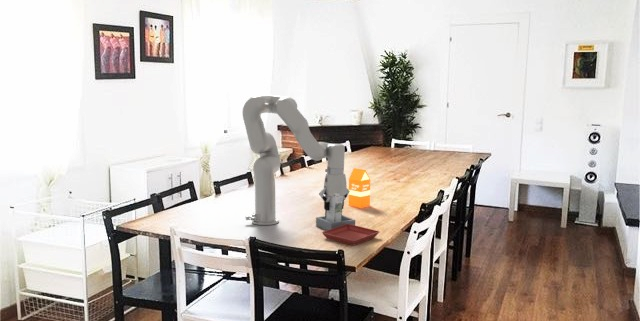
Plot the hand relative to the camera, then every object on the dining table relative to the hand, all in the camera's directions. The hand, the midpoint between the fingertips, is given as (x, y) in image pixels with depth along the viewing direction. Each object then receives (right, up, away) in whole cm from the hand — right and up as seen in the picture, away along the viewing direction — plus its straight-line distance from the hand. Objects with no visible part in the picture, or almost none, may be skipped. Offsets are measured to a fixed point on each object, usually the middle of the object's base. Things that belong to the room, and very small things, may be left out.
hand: (333, 208), depth 248 cm
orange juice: (+15, -2, +45) cm, 47 cm away
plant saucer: (+7, -12, -16) cm, 21 cm away
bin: (+1, -8, +1) cm, 9 cm away
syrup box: (0, -6, +1) cm, 7 cm away
